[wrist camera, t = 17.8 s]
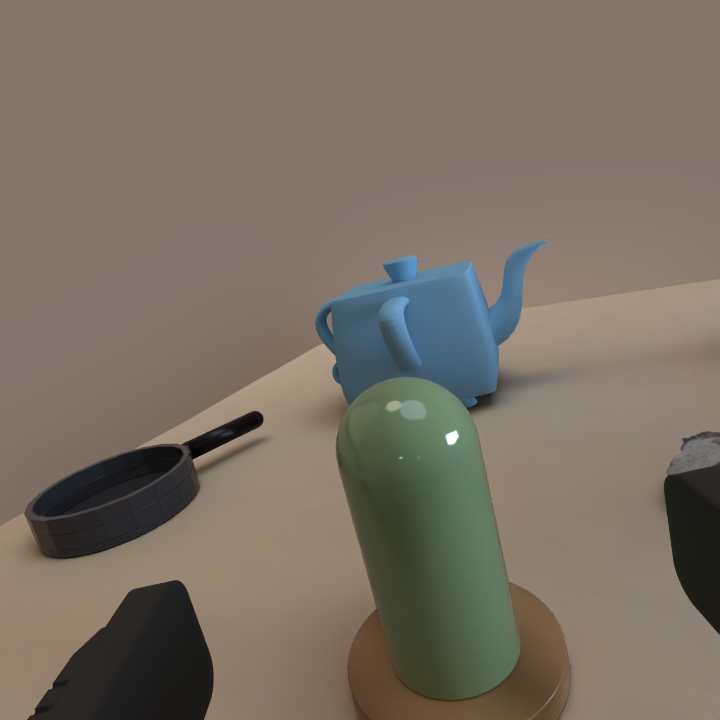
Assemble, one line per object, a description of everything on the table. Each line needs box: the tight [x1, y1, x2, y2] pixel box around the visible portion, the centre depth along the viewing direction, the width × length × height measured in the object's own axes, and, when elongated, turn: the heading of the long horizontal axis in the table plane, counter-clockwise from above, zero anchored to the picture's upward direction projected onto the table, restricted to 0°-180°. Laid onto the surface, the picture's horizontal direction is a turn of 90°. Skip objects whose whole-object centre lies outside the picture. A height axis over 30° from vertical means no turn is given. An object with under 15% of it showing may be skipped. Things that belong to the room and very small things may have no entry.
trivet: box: [348, 582, 571, 720], centre depth 20 cm, size 8×8×1 cm
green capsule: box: [336, 377, 521, 701], centre depth 19 cm, size 5×5×10 cm
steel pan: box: [24, 444, 200, 558], centre depth 42 cm, size 12×12×3 cm
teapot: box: [315, 239, 548, 408], centre depth 50 cm, size 18×16×14 cm
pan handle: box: [182, 411, 264, 460], centre depth 48 cm, size 9×2×2 cm, turn 134°
